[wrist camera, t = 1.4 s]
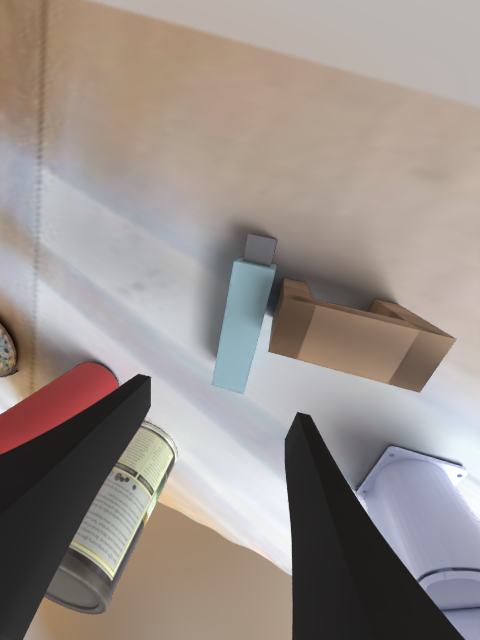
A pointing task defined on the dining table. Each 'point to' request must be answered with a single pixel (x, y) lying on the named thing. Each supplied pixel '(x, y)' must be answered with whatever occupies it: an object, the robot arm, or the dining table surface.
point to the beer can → (55, 404)
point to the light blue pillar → (244, 312)
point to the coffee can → (114, 524)
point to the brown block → (357, 338)
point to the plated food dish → (7, 354)
